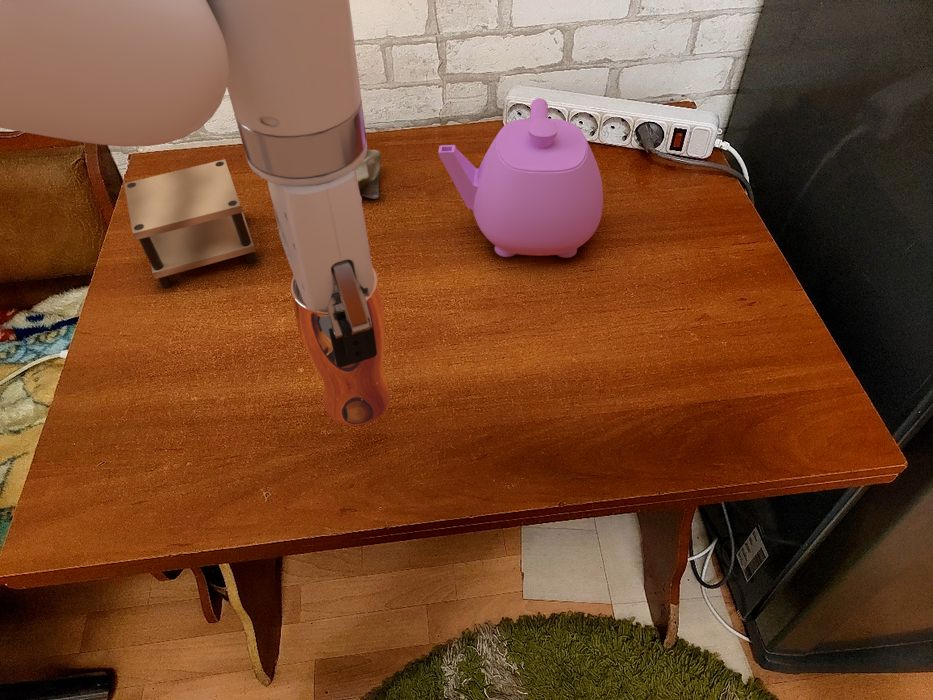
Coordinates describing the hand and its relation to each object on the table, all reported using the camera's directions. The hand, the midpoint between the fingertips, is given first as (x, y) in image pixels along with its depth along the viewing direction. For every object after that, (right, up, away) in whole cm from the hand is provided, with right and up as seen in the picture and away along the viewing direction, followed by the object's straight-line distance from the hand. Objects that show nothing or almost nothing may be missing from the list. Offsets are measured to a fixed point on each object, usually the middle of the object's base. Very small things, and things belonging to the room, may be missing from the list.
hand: (342, 324), depth 56 cm
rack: (-23, +10, +31) cm, 40 cm away
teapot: (+17, +15, +34) cm, 41 cm away
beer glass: (0, -7, +8) cm, 10 cm away
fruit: (-6, +21, +40) cm, 46 cm away
